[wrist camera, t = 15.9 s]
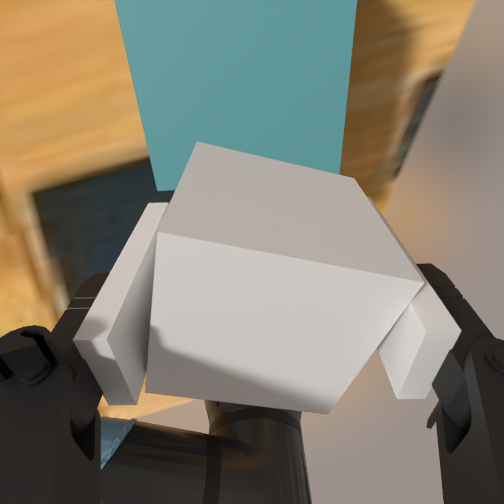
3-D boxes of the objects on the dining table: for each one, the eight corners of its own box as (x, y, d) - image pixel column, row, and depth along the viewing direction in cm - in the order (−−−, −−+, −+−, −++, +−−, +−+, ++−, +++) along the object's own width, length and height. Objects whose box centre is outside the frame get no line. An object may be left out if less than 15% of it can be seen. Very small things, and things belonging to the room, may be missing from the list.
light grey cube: (196, 140, 11) (156, 230, 6) (354, 177, 12) (426, 281, 7) (179, 270, 15) (144, 393, 10) (303, 291, 15) (328, 415, 11)
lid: (335, 175, 22) (338, 180, 22) (160, 185, 23) (157, 190, 22) (362, -115, 15) (369, -125, 14) (99, -97, 15) (90, -106, 14)
